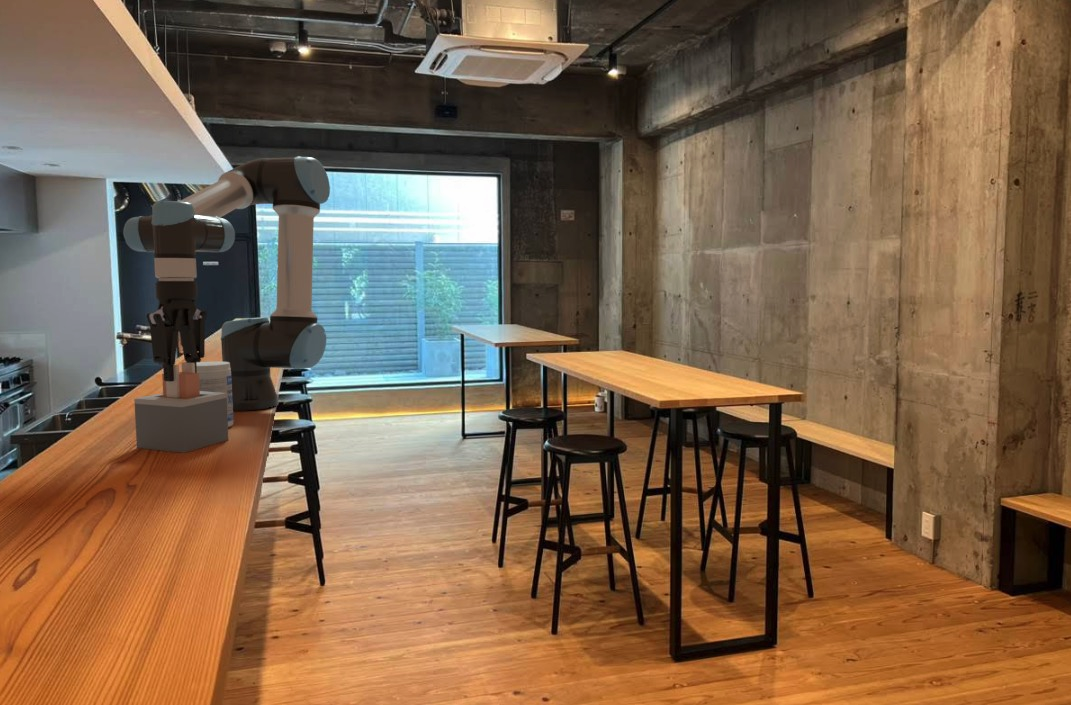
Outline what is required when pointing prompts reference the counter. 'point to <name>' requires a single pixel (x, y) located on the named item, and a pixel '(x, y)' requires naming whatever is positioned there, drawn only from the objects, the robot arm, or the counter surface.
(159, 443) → the box
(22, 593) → the counter surface
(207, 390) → the supplement tub
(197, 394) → the block
